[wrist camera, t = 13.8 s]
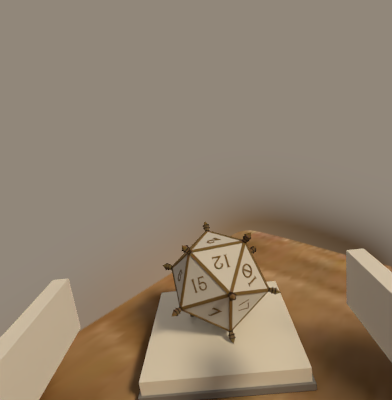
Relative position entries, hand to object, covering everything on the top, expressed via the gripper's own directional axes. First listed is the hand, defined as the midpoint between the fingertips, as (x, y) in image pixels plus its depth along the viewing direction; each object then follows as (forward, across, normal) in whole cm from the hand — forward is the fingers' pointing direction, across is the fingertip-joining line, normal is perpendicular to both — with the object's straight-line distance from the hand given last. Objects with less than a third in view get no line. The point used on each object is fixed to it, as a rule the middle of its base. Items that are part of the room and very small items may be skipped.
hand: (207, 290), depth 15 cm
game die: (+10, 0, -9) cm, 14 cm away
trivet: (+10, 0, -11) cm, 15 cm away
